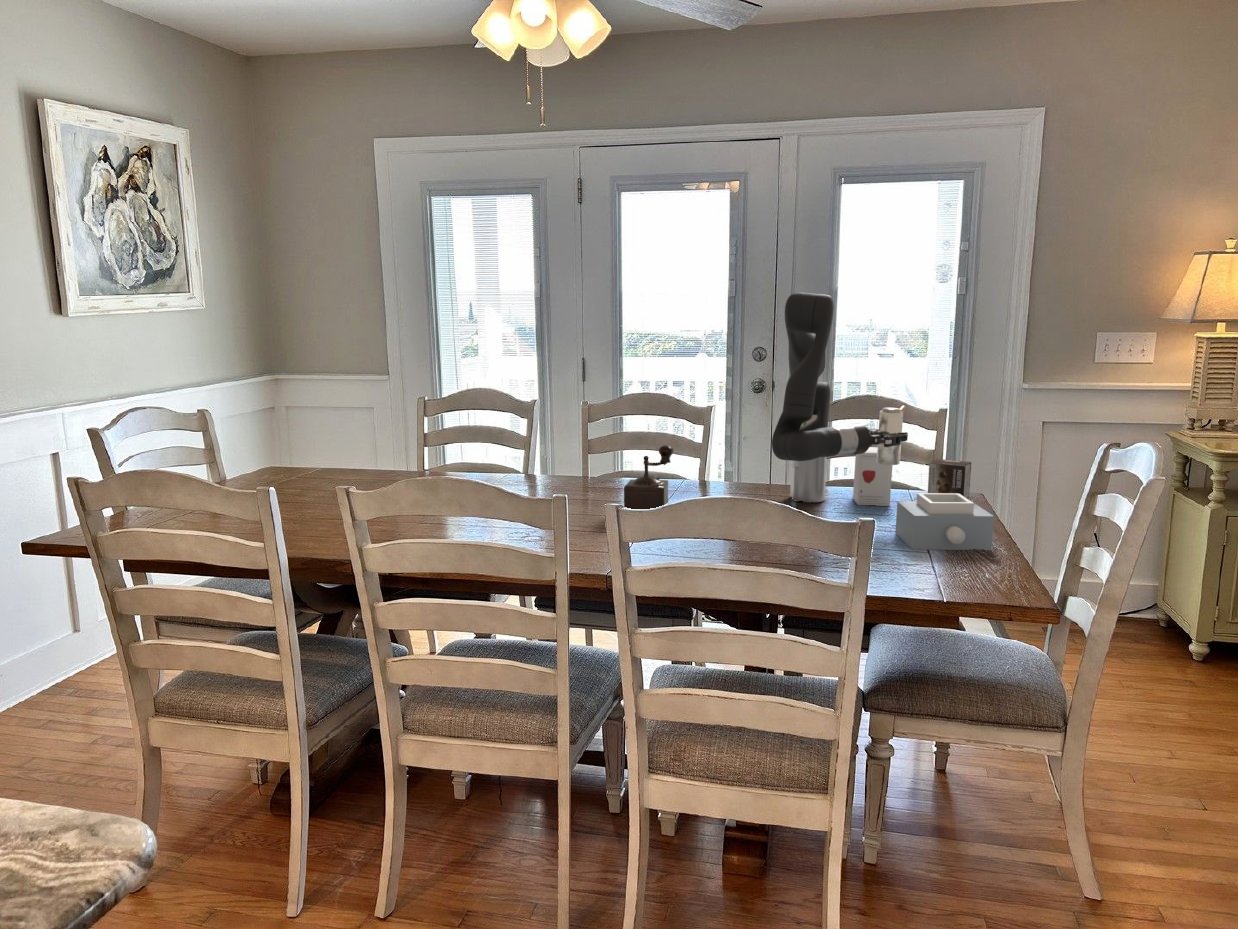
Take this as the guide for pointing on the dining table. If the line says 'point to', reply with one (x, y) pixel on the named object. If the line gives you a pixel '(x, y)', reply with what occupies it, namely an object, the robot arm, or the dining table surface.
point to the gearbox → (943, 523)
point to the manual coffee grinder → (648, 486)
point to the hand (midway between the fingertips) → (897, 434)
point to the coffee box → (949, 477)
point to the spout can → (892, 424)
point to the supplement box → (871, 480)
